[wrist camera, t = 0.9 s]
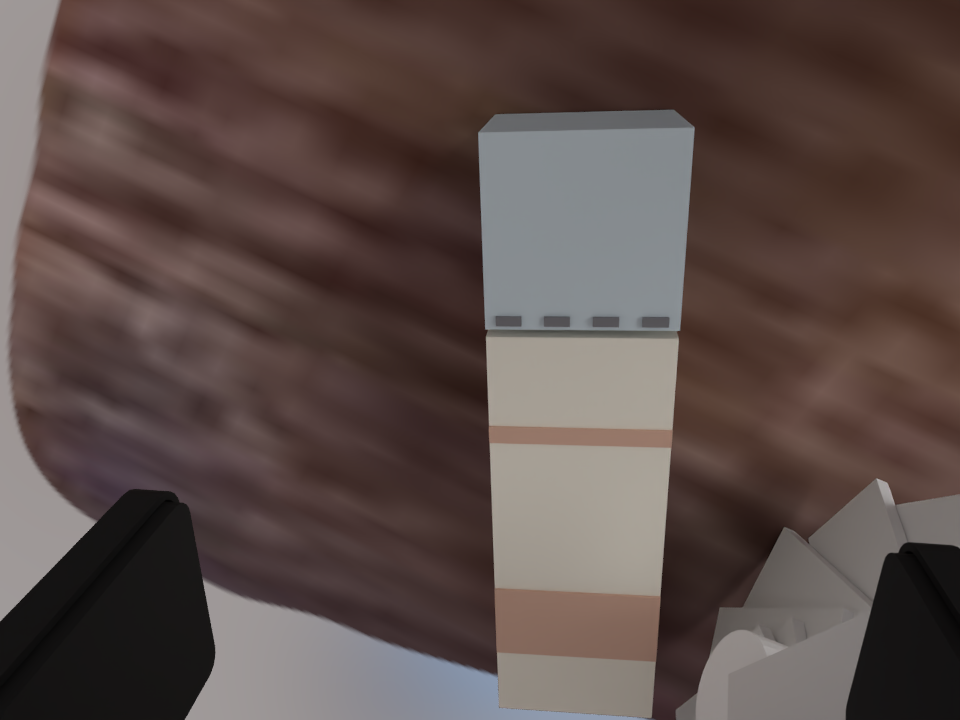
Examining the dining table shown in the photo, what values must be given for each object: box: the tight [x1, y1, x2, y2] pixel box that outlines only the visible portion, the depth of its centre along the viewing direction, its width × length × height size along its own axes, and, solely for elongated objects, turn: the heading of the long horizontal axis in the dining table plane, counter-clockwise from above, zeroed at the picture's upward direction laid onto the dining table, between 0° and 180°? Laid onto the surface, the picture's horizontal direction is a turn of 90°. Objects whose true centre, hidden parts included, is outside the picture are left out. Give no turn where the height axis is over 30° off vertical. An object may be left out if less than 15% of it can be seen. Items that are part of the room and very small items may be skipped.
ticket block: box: [486, 329, 679, 718], centre depth 29 cm, size 6×16×5 cm, turn 2°
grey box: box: [478, 110, 695, 331], centre depth 25 cm, size 6×6×5 cm
